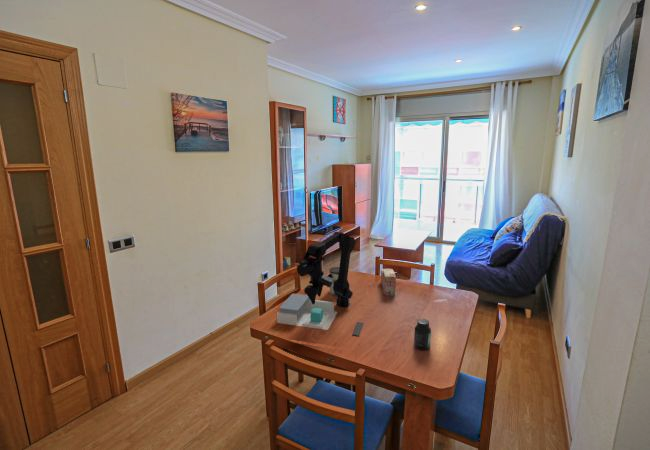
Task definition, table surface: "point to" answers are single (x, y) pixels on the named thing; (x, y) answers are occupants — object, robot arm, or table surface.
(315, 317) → the teal block
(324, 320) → the open white tray
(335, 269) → the coffee can
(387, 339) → the table surface
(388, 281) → the stack of blocks
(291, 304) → the sliding cover
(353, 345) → the table surface
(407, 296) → the table surface
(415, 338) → the supplement bottle
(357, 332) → the rubber mat
